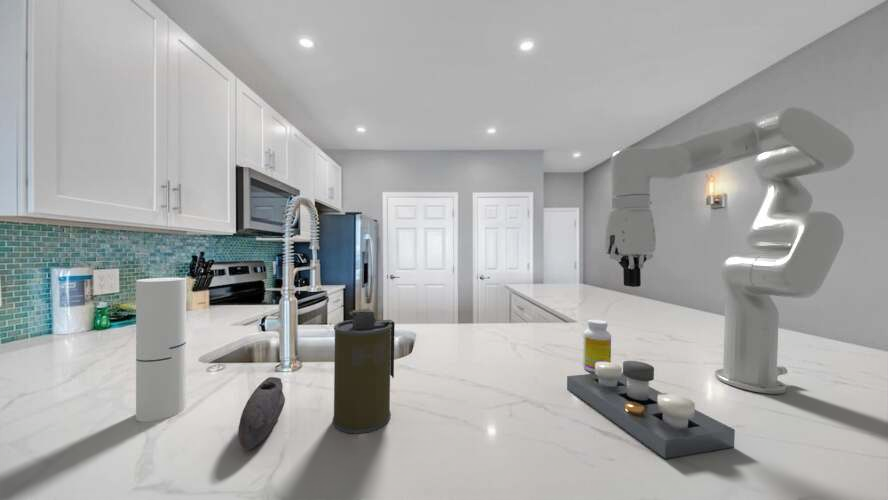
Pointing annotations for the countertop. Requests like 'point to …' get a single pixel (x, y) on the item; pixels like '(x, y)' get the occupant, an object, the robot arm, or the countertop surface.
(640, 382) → the knob middle
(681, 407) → the knob
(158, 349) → the cylindrical container
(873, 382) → the countertop surface
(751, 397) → the countertop surface
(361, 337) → the canister
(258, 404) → the perforated stone tool
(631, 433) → the panel
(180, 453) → the countertop surface
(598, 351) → the supplement bottle
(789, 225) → the robot arm
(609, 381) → the knob
